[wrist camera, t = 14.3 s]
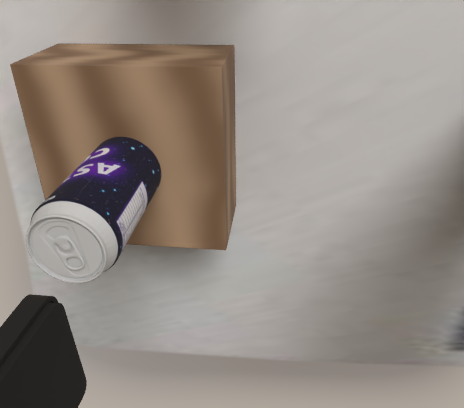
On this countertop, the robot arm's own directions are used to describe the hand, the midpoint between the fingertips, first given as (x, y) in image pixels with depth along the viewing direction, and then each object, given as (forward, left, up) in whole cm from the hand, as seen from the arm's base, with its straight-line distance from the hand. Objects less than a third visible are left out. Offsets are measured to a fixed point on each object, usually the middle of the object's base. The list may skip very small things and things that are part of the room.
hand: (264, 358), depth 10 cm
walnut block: (+12, +8, -33) cm, 36 cm away
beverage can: (+12, +8, -25) cm, 29 cm away
